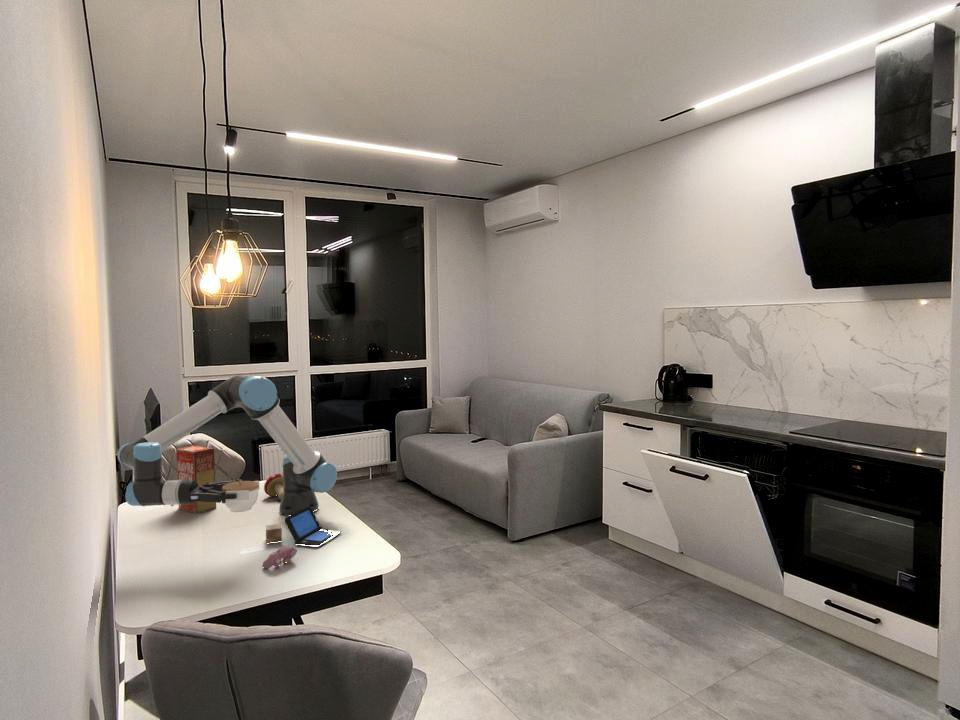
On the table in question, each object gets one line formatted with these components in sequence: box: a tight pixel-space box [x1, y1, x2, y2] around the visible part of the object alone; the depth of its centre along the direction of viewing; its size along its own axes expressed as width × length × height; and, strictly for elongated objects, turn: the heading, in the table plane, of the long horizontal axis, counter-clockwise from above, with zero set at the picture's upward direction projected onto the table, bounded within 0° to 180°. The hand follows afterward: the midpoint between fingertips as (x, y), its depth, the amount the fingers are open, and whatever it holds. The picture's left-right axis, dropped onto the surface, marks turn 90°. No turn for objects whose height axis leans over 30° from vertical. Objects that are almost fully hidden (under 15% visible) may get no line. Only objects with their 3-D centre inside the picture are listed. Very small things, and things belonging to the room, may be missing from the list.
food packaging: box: [175, 445, 217, 514], centre depth 240 cm, size 13×9×25 cm
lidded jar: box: [222, 479, 260, 513], centre depth 185 cm, size 11×11×9 cm
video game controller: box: [262, 545, 298, 569], centre depth 181 cm, size 10×5×7 cm, turn 149°
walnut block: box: [265, 523, 283, 543], centre depth 202 cm, size 5×5×5 cm
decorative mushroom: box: [263, 473, 284, 501], centre depth 255 cm, size 11×11×15 cm
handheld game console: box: [284, 507, 333, 545], centre depth 203 cm, size 16×13×9 cm
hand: (253, 489), depth 186 cm, fingers closed on lidded jar, 11 cm apart
